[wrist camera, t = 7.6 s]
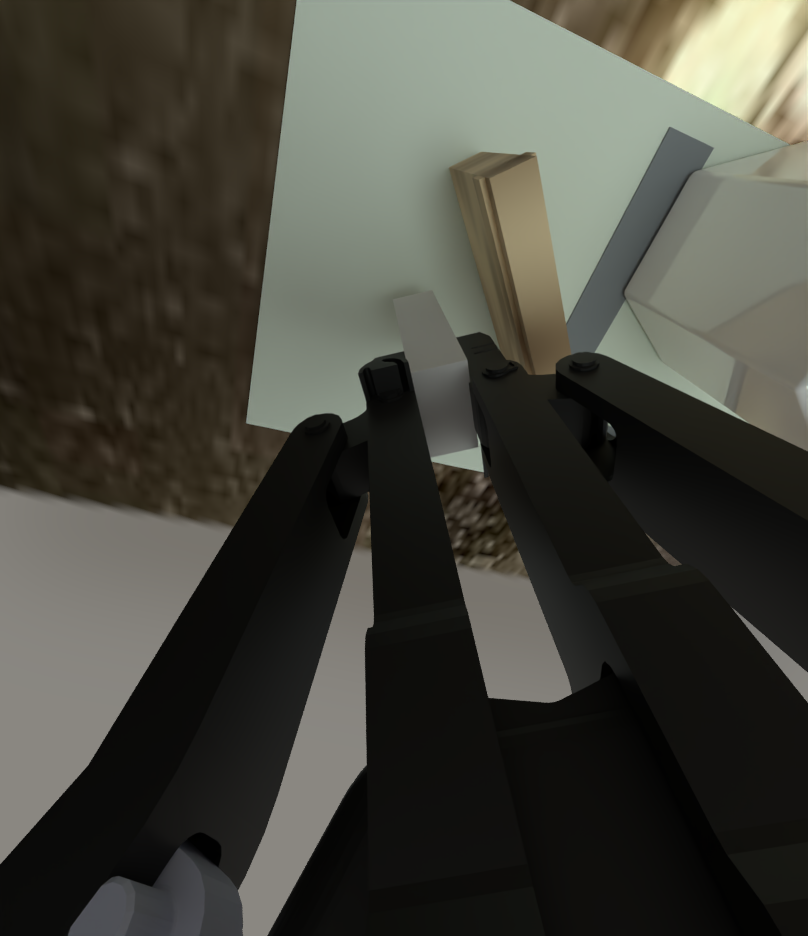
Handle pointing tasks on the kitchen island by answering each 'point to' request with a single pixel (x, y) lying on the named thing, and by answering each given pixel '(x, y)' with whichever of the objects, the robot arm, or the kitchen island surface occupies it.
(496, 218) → the fence panel
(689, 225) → the jar
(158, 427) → the kitchen island surface
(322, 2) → the board
